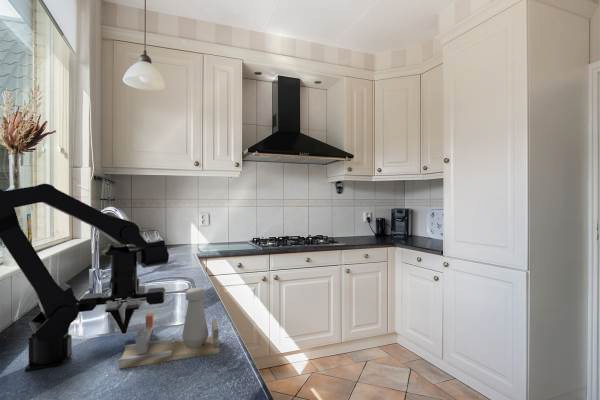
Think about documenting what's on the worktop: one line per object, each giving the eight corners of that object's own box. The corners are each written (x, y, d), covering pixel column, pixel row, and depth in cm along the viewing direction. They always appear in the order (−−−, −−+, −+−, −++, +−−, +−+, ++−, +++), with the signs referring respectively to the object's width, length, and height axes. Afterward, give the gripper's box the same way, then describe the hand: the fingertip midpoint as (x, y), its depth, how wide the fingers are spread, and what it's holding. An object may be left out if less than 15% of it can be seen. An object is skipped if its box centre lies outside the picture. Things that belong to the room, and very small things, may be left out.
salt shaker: (194, 352, 70) (193, 293, 70) (176, 347, 73) (176, 290, 73) (213, 342, 75) (213, 287, 75) (196, 337, 78) (196, 284, 78)
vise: (118, 368, 65) (118, 342, 65) (125, 353, 72) (125, 329, 72) (218, 352, 72) (218, 329, 72) (216, 339, 79) (216, 318, 79)
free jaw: (135, 358, 67) (135, 338, 67) (146, 330, 82) (146, 313, 82) (146, 357, 68) (146, 336, 68) (154, 329, 83) (154, 312, 83)
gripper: (166, 262, 90) (167, 317, 90) (90, 267, 84) (91, 326, 84) (163, 270, 80) (163, 332, 80) (76, 276, 74) (76, 343, 74)
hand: (124, 333), depth 80 cm, fingers closed
